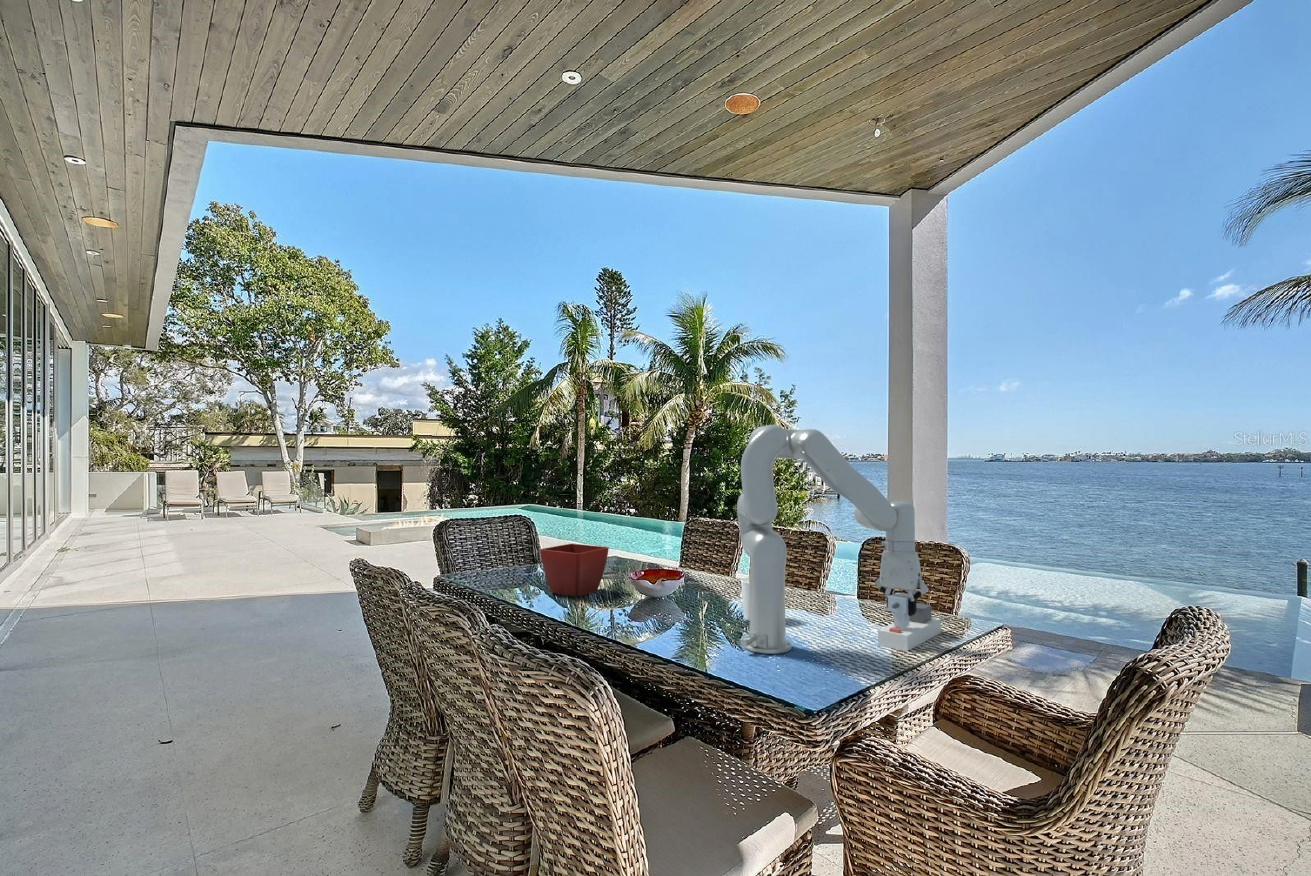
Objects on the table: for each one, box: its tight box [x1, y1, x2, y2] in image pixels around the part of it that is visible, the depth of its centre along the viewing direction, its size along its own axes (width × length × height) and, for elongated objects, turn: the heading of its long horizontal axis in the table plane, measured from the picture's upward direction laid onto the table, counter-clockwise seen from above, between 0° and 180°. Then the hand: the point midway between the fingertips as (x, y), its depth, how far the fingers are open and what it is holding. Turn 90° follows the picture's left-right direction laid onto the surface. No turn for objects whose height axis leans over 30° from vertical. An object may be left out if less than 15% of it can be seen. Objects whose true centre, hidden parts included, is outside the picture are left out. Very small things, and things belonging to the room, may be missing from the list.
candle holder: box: [740, 577, 750, 622], centre depth 208 cm, size 10×10×12 cm
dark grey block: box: [909, 602, 933, 623], centre depth 189 cm, size 8×5×8 cm, turn 137°
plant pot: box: [539, 543, 609, 598], centre depth 248 cm, size 19×19×17 cm
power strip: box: [877, 616, 942, 652], centre depth 184 cm, size 24×8×5 cm, turn 137°
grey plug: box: [887, 592, 910, 628], centre depth 179 cm, size 8×5×8 cm, turn 137°
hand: (901, 612), depth 180 cm, fingers closed on grey plug, 4 cm apart
